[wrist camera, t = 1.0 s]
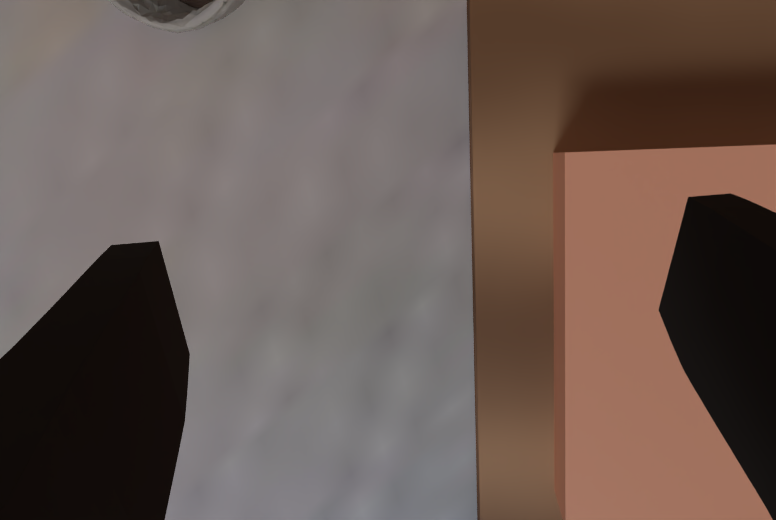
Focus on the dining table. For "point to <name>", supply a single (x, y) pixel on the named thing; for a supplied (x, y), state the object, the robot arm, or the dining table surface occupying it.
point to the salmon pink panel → (637, 337)
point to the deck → (578, 134)
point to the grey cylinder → (176, 13)
